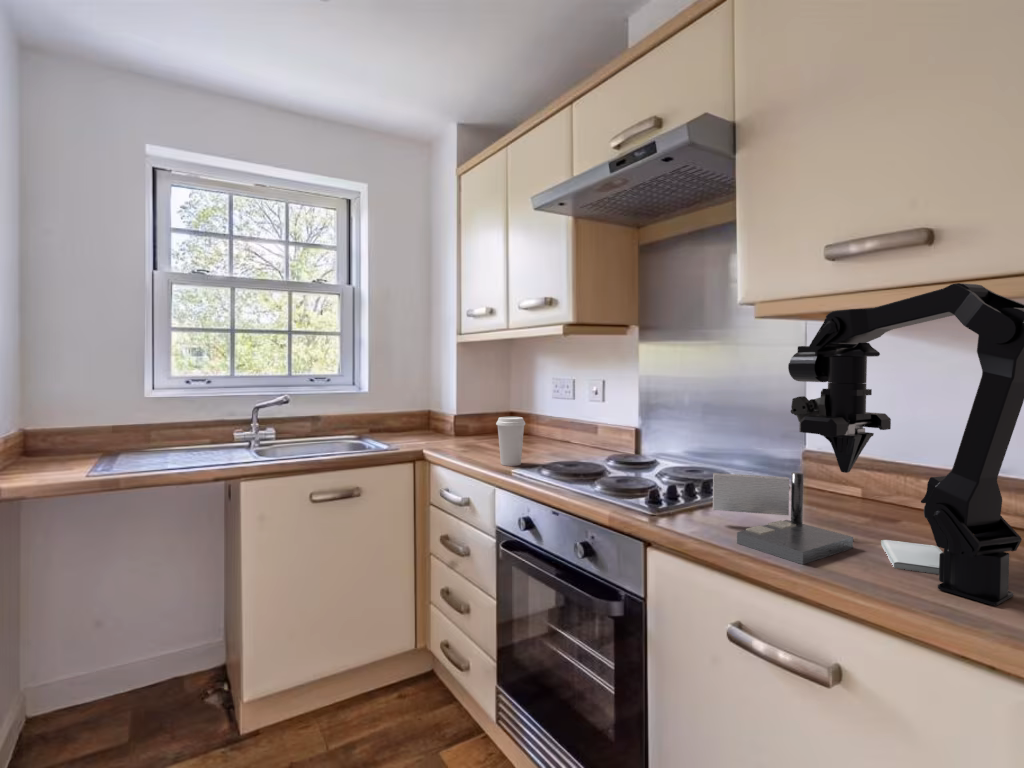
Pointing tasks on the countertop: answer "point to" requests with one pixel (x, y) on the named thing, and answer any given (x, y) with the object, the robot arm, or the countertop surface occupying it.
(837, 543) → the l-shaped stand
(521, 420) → the coffee cup
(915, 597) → the countertop surface
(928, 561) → the hard drive
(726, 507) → the grey flat panel
